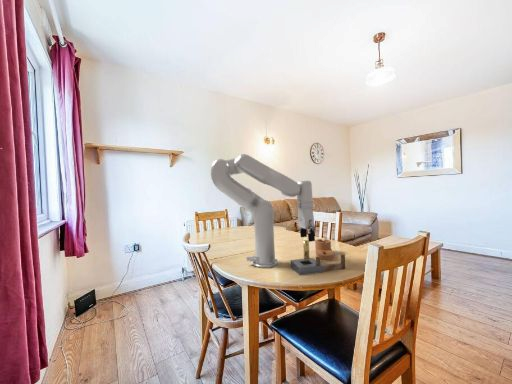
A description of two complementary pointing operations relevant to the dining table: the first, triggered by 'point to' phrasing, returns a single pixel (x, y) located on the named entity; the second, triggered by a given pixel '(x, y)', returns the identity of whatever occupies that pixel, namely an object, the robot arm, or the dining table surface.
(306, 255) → the pin
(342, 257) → the brown drawer handle
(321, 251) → the bracket
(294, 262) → the collar block
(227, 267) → the dining table surface
